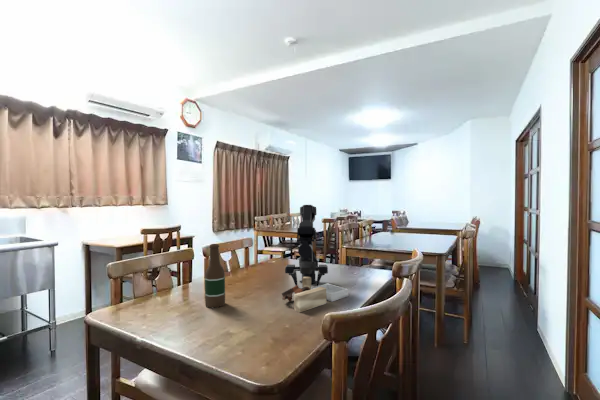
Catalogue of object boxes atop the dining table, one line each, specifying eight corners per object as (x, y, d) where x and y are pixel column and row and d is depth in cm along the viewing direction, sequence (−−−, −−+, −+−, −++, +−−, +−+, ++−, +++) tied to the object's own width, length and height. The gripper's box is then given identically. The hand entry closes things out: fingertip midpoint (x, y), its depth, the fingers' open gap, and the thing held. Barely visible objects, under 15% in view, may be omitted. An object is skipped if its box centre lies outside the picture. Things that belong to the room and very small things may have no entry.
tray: (311, 294, 134) (311, 287, 134) (327, 289, 140) (327, 283, 140) (331, 301, 125) (331, 294, 125) (348, 296, 131) (348, 289, 131)
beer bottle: (229, 302, 126) (228, 243, 125) (218, 309, 118) (217, 246, 118) (212, 300, 128) (211, 242, 128) (201, 307, 121) (199, 245, 121)
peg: (300, 291, 139) (300, 277, 139) (307, 289, 142) (307, 276, 142) (306, 293, 136) (306, 279, 136) (313, 291, 139) (313, 277, 139)
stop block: (294, 310, 116) (294, 294, 116) (321, 301, 125) (320, 286, 125) (299, 312, 114) (299, 296, 114) (326, 303, 123) (326, 288, 123)
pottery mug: (294, 312, 116) (284, 291, 118) (285, 315, 123) (276, 296, 125) (319, 297, 122) (309, 278, 124) (308, 301, 130) (299, 283, 132)
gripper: (283, 256, 131) (283, 293, 132) (327, 256, 130) (328, 294, 130) (286, 252, 143) (287, 286, 143) (327, 252, 141) (327, 286, 141)
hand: (306, 288), depth 139 cm, fingers open, 9 cm apart
